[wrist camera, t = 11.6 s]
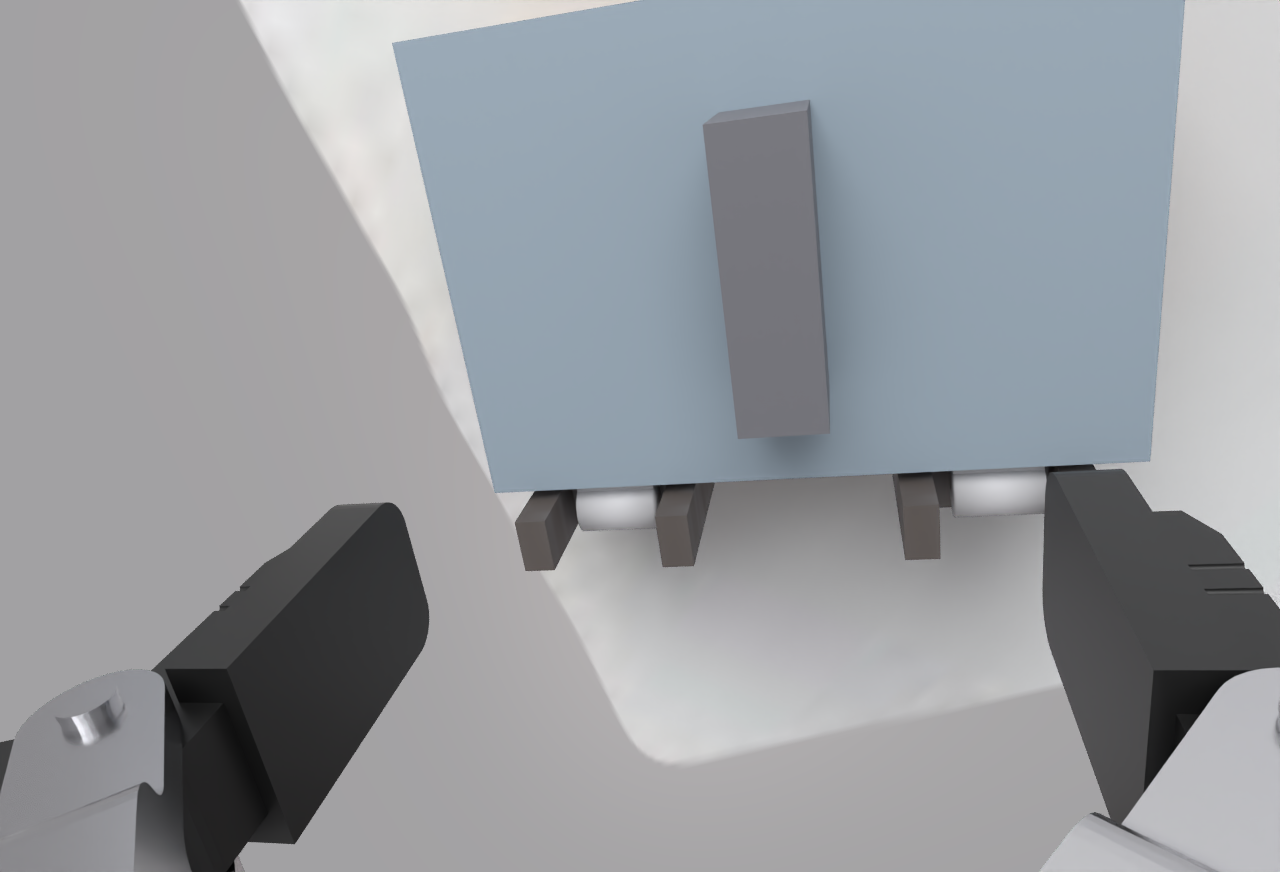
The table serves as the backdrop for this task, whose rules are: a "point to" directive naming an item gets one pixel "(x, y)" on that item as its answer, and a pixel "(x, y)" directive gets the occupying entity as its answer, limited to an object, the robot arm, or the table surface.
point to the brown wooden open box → (686, 508)
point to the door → (803, 240)
